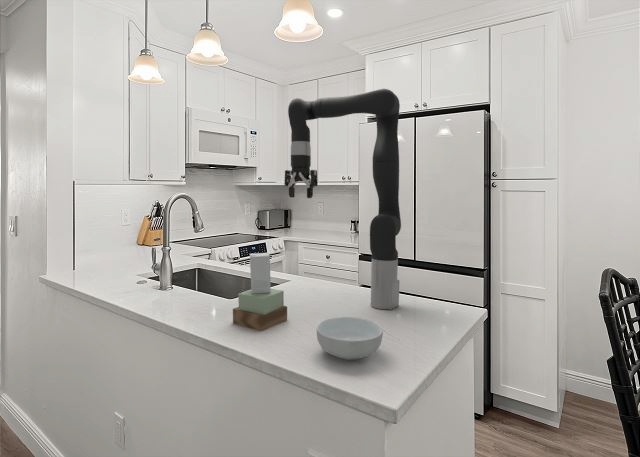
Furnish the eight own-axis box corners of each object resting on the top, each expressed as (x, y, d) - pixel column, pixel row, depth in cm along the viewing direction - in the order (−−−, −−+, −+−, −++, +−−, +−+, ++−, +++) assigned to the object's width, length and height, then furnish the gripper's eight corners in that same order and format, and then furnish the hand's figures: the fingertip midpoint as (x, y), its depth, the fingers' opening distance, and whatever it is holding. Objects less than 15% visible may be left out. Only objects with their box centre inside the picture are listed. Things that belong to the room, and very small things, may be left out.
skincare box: (269, 288, 129) (269, 252, 127) (270, 293, 125) (270, 255, 123) (250, 289, 128) (249, 252, 126) (250, 294, 124) (250, 256, 121)
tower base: (287, 321, 129) (287, 306, 128) (261, 332, 119) (260, 316, 119) (259, 314, 136) (259, 299, 135) (233, 324, 126) (232, 308, 126)
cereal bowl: (308, 363, 98) (308, 335, 98) (325, 338, 114) (325, 314, 114) (377, 372, 94) (378, 343, 93) (385, 345, 110) (386, 319, 109)
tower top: (283, 305, 129) (283, 290, 128) (264, 314, 120) (264, 298, 120) (258, 301, 134) (258, 286, 133) (238, 309, 125) (238, 293, 124)
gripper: (279, 154, 152) (280, 197, 154) (309, 153, 144) (309, 198, 146) (292, 155, 158) (292, 197, 160) (321, 154, 150) (321, 198, 152)
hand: (300, 197), depth 153 cm, fingers open, 8 cm apart
